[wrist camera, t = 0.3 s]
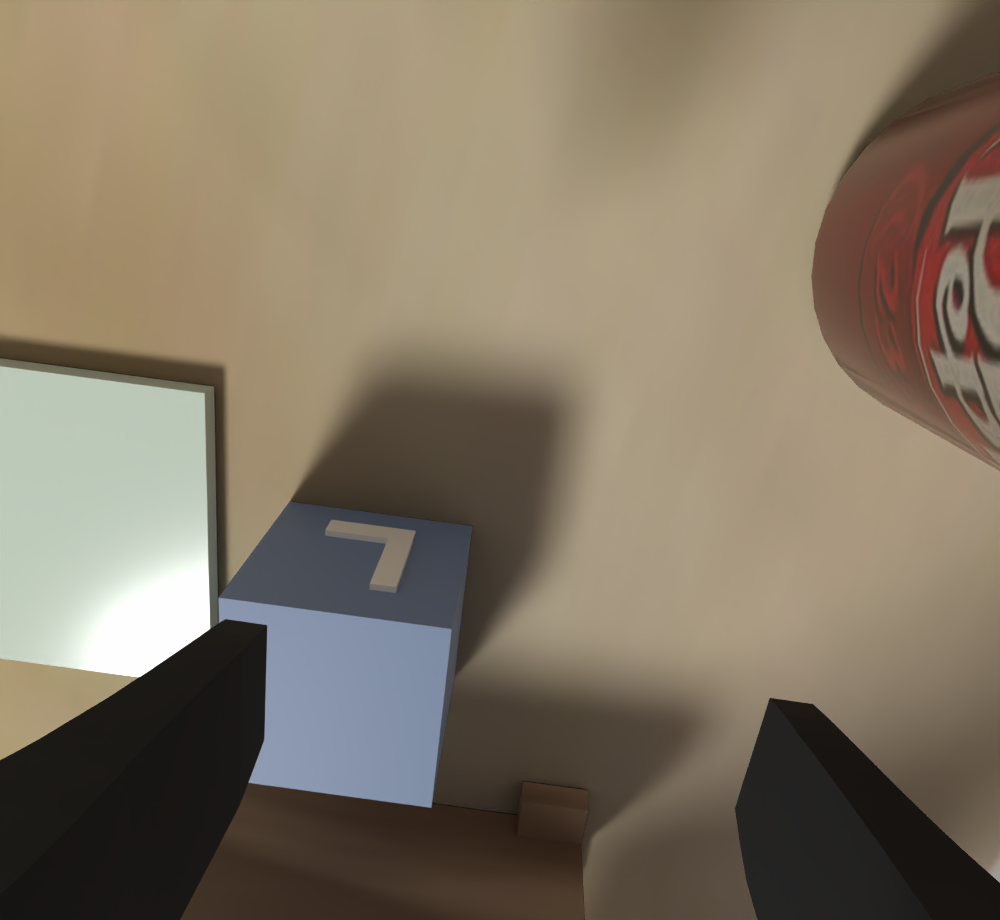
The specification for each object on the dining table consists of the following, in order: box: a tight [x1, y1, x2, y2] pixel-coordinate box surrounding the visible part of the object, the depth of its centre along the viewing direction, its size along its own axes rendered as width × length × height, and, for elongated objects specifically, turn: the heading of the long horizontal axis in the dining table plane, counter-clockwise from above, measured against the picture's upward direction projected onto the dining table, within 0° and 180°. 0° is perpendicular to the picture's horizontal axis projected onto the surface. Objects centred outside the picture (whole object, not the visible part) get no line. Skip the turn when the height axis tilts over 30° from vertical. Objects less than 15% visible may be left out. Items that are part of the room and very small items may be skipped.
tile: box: [0, 358, 218, 677], centre depth 21 cm, size 9×9×1 cm
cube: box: [219, 502, 473, 808], centre depth 20 cm, size 5×5×5 cm
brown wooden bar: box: [180, 781, 589, 920], centre depth 22 cm, size 4×14×6 cm, turn 83°
